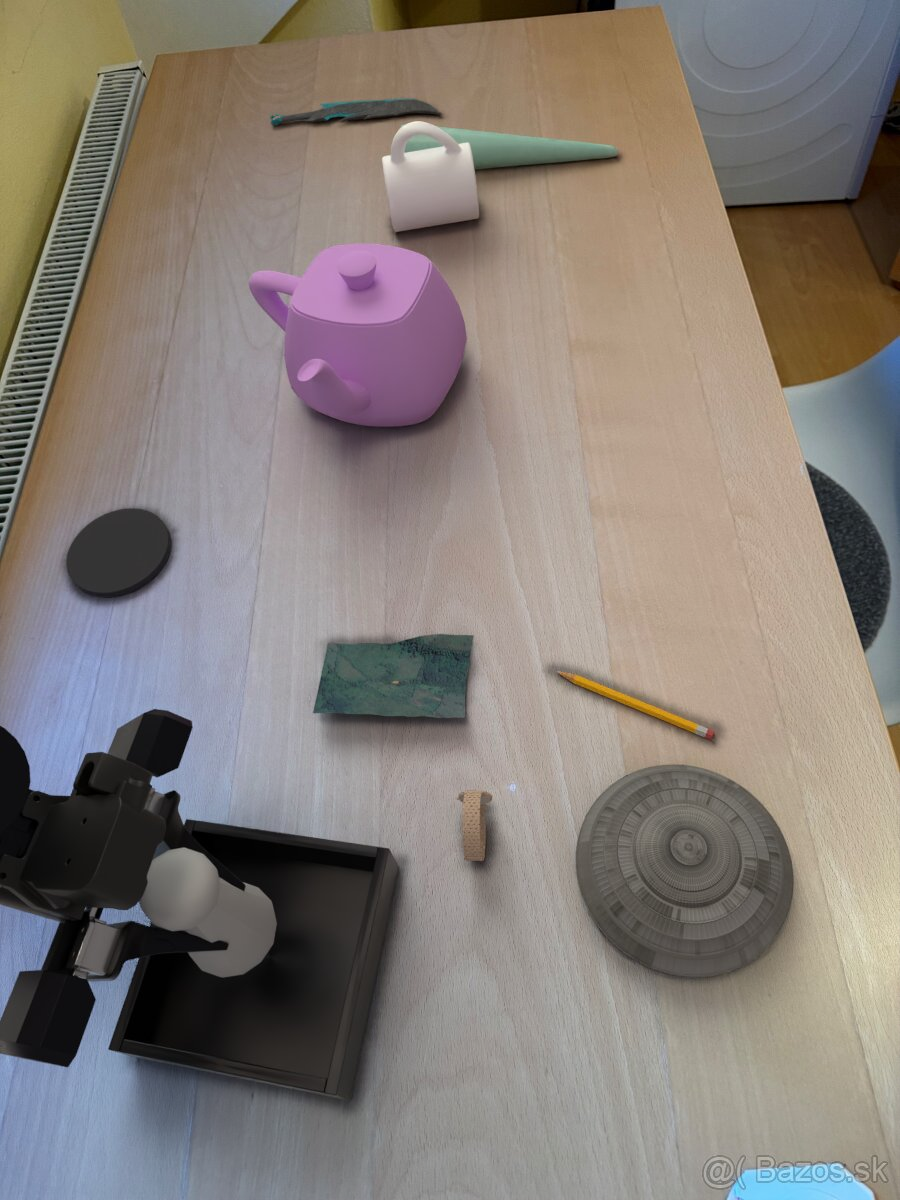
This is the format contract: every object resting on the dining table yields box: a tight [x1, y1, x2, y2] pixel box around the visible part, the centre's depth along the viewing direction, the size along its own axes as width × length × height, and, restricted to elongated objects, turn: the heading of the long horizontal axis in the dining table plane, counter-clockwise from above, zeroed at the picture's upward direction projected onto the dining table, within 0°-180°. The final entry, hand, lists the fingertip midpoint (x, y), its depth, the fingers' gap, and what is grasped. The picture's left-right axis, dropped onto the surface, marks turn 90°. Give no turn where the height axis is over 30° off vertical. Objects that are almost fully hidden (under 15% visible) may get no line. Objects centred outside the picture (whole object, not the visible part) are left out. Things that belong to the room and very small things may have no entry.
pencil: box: [555, 670, 715, 740], centre depth 72 cm, size 1×13×1 cm, turn 61°
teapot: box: [248, 243, 468, 427], centre depth 88 cm, size 23×21×15 cm
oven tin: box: [108, 818, 400, 1102], centre depth 63 cm, size 16×16×4 cm
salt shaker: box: [138, 848, 277, 977], centre depth 54 cm, size 6×6×13 cm
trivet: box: [66, 507, 172, 598], centre depth 87 cm, size 10×10×1 cm
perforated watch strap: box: [455, 789, 493, 862], centre depth 66 cm, size 3×5×5 cm, turn 178°
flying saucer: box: [575, 764, 795, 978], centre depth 63 cm, size 15×15×6 cm
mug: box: [381, 120, 480, 233], centre depth 105 cm, size 8×10×12 cm
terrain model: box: [312, 633, 474, 719], centre depth 75 cm, size 13×8×2 cm, turn 86°
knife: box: [269, 98, 443, 127], centre depth 125 cm, size 24×1×5 cm
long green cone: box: [400, 124, 619, 171], centre depth 112 cm, size 5×6×27 cm
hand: (233, 918), depth 54 cm, fingers closed on salt shaker, 3 cm apart
